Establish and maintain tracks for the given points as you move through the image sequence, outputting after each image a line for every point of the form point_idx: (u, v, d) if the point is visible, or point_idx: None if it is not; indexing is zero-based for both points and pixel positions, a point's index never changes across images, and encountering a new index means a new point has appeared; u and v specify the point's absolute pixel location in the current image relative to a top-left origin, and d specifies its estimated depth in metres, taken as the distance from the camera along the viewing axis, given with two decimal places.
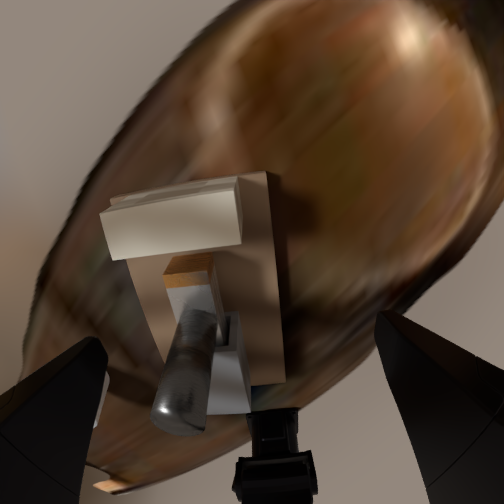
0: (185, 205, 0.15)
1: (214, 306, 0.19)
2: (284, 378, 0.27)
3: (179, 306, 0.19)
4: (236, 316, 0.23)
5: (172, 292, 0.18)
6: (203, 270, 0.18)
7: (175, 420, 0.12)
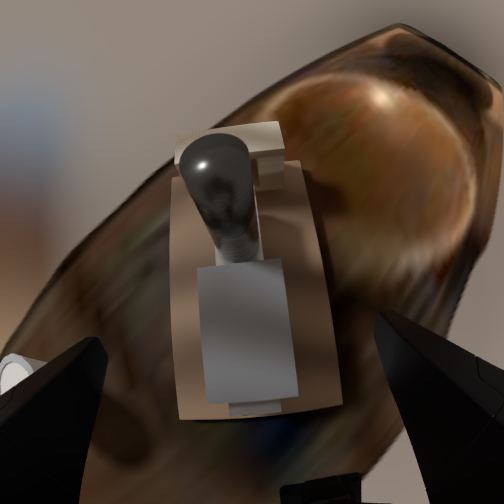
0: (244, 128, 0.20)
1: (258, 219, 0.19)
2: (340, 396, 0.18)
3: None
4: None
5: None
6: None
7: (213, 153, 0.11)
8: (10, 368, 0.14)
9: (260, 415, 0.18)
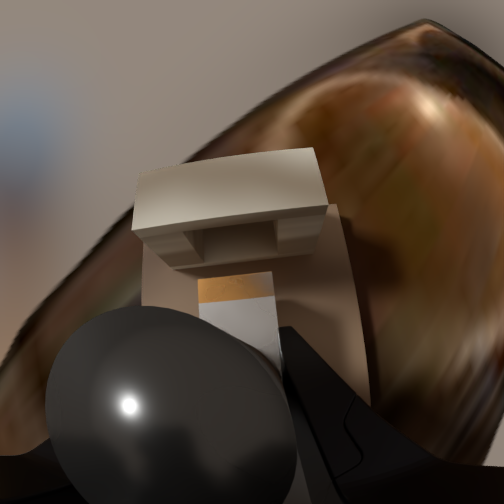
0: (254, 160, 0.12)
1: None
2: None
3: None
4: None
5: (208, 310, 0.11)
6: (266, 272, 0.11)
7: (142, 420, 0.02)
8: None
9: None
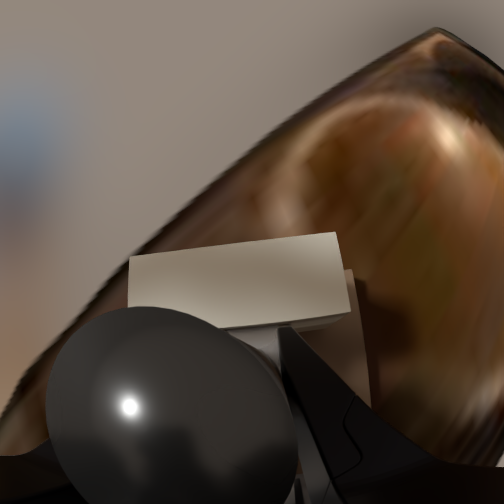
0: (266, 250, 0.10)
1: None
2: None
3: None
4: None
5: None
6: None
7: (143, 420, 0.02)
8: None
9: None
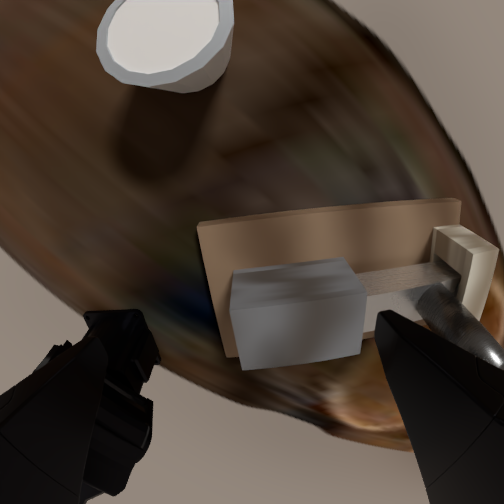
0: (479, 312, 0.16)
1: None
2: (233, 356, 0.24)
3: (452, 285, 0.17)
4: None
5: None
6: None
7: None
8: (204, 0, 0.09)
9: (213, 302, 0.21)
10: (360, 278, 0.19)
